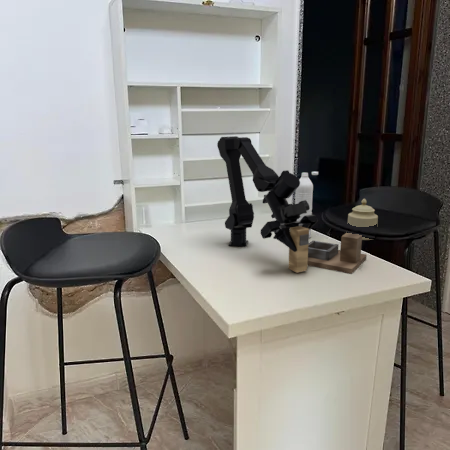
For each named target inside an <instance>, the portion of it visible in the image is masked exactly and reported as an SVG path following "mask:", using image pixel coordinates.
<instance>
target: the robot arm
mask: <svg viewBox="0 0 450 450" xmlns="http://www.w3.org/2000/svg"><path fill="white" fill-rule="evenodd" d="M216 145H217V149H218V152H219V153H218V154H219V156H220V158H222V160H223V161H224V163H225V165H226V167H225V168H226V172H227V178H228V185H229V190H230V196H231V204H230V206H229V209H228V213H229V215H228V217H227V218H226V220H225V221H224V226H225V229H228V230H230V241H229V243H228V246H231V247H247V246H248V243H249V240H247V229H248V228H249V229H250V228H252V226H253V223H254V218H255V216H254V215H255V213H254V207H253V204H252V203H251V202H250V203H249V202H248V201H247V199H246V193H245V192H246V191H245V188H244V187H245V186H244V181H243V175H242V169H241V162H240V159H241V156H242V158H243V160H244V162H245V163H246V165H247V167H248V168H249V169H250V171H251V173H252V183H253V184H254V187H255V189H256V191H258V192H259V193H264V192H267V193H266V194H264V195H263V199H262V204H267V205H268V206H269V207H268V208H269V209H270V210H271V213H272V214H271V216H270V217H271V218H272V219H275V220H272V221H271V220H270V221H267V222H266V223H265V224H264V225H263V227H262V228H261V229H260V236H261V237H262V239H264V240H265V239H268V238H271V237H272V235H273V233H274V236H273V239H274V240H276V241H279V242H280V243H282V244H284V245H285V247H287V248H288V249H289V248H290V249H291V250H293V251H294V252H296V251H297V248H296V245H295V243H294V241H293V239H292V237H291V235H290V228H292V227H297V226H302V227H305V228H308V229H309V230H310V229H311V230H312V228H313V227H315V225H316V224H317V223H318V222H319V220H318V217H317V215H316V214H312V215H306V216H304V217H303V218H302V219H301V220H300V221H297V219H299V218H300V215H301V214H303V213H307V210H309V209H310V207H309V204H308V203H307V201H306V200H304V201H301V202H299V203H298V204H295V203H289V202H288V199H290V198H291V196H292V195H293V194H294V193H296V189H297V188H298V187H299V185H300V181H299V179H300V178H299V177H297V176H296V175H295V174H293V173H291V172H290V170H283V171H281V173H280V175H279V174H278V173H277V172H276V171H275V170H274V169H273V168H271V167H269V166H267V165H266V163H265V162H264V161H263V159H262V158H261V156H260V154H259V153H258V151H257V150H256V148H255V147H254V145H253V144H252V139H251V138H250V137H247V136H246V137H243V136H241V137H239V136H237V135H235V136H221V137H220V138H219V140H217V144H216Z"/></svg>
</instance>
